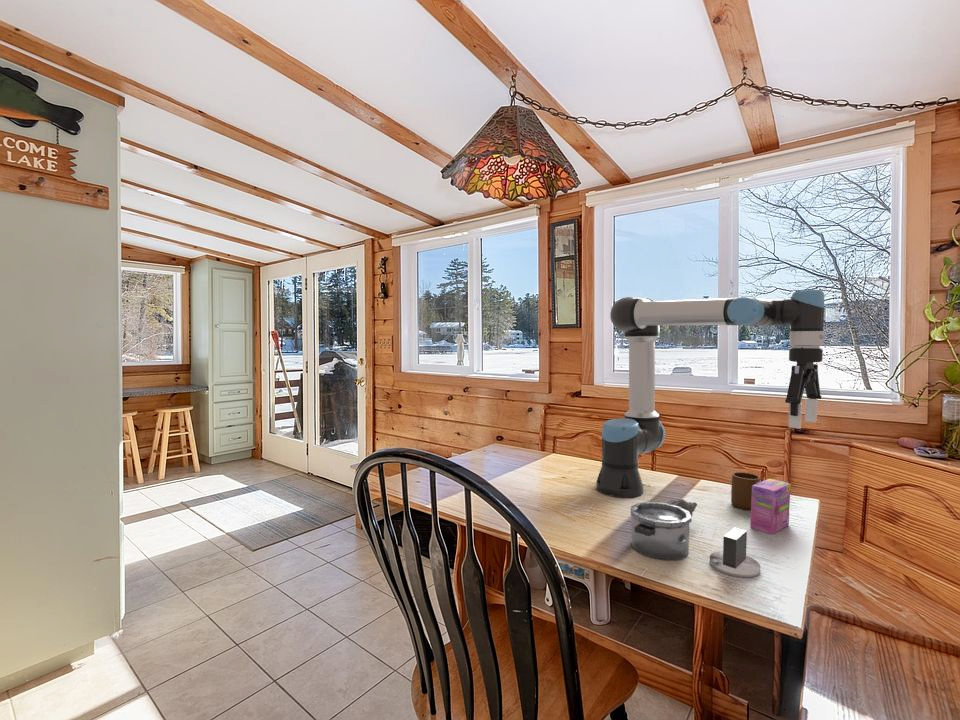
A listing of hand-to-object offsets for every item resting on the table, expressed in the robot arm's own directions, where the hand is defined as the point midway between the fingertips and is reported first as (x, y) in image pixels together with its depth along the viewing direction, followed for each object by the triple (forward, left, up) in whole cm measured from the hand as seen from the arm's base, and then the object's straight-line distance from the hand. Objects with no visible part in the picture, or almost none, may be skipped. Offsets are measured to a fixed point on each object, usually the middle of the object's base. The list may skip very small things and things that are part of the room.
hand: (802, 424), depth 130 cm
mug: (-13, +2, -28) cm, 31 cm away
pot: (-20, -43, -27) cm, 55 cm away
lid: (-4, -40, -28) cm, 49 cm away
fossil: (-23, -26, -28) cm, 44 cm away
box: (-5, -9, -28) cm, 29 cm away
